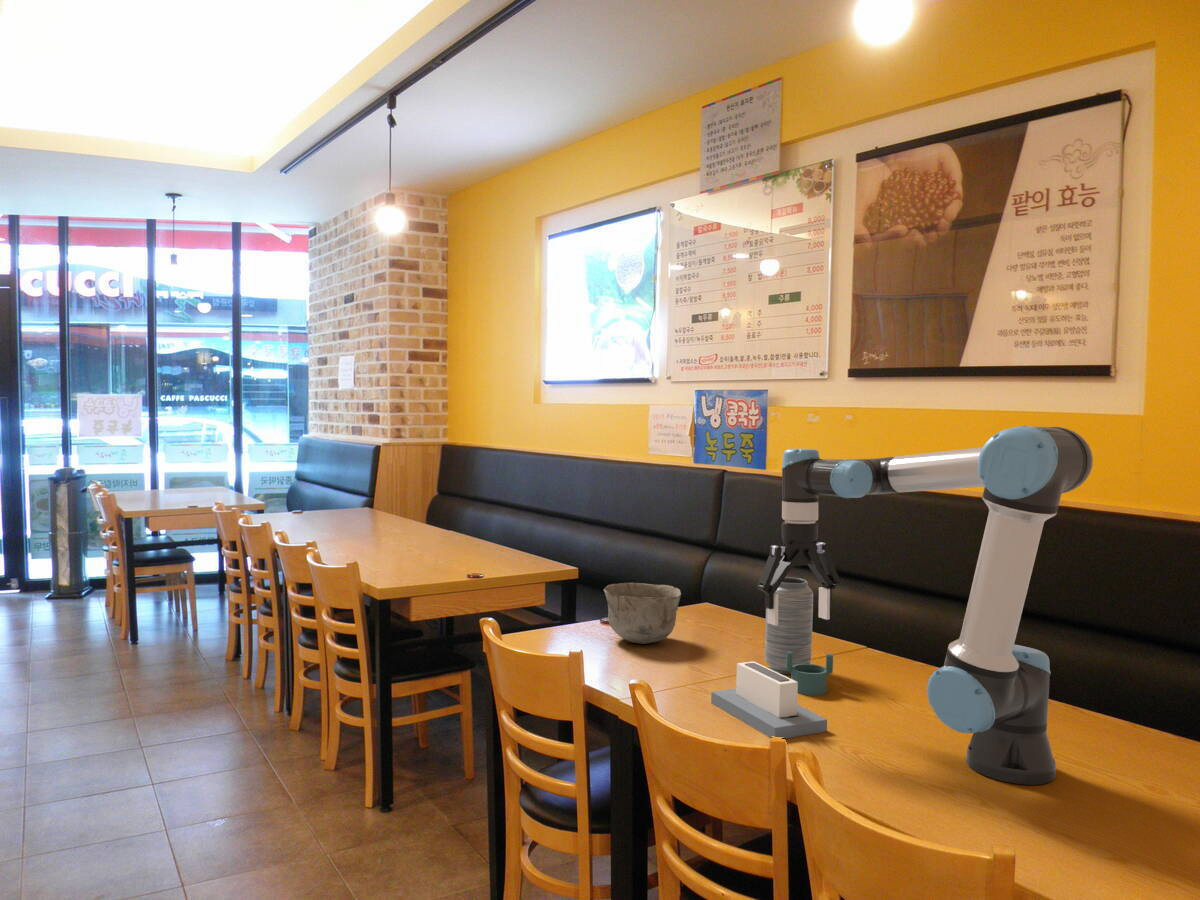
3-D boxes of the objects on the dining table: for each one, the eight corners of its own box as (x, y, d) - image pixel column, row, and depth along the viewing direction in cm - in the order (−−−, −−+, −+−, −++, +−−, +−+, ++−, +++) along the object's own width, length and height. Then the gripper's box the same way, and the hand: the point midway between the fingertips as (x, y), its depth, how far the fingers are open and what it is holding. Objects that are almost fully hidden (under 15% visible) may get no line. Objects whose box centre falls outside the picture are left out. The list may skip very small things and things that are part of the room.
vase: (795, 661, 232) (798, 575, 231) (819, 674, 221) (822, 583, 220) (756, 664, 228) (758, 576, 227) (778, 677, 217) (781, 585, 216)
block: (796, 724, 184) (797, 680, 183) (778, 727, 182) (780, 683, 181) (752, 700, 198) (753, 660, 198) (735, 703, 196) (736, 662, 196)
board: (826, 731, 181) (827, 719, 181) (774, 740, 176) (775, 727, 176) (759, 696, 203) (759, 685, 203) (711, 702, 198) (711, 691, 198)
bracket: (835, 692, 207) (836, 654, 207) (806, 697, 203) (807, 659, 202) (808, 682, 215) (809, 645, 215) (779, 687, 210) (781, 650, 210)
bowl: (607, 630, 261) (609, 579, 260) (681, 634, 258) (682, 583, 257) (597, 649, 239) (598, 595, 239) (677, 654, 236) (679, 599, 236)
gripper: (834, 517, 195) (832, 612, 196) (740, 522, 184) (739, 622, 185) (857, 520, 188) (856, 619, 189) (762, 525, 178) (761, 630, 178)
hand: (798, 621), depth 187 cm, fingers open, 13 cm apart
